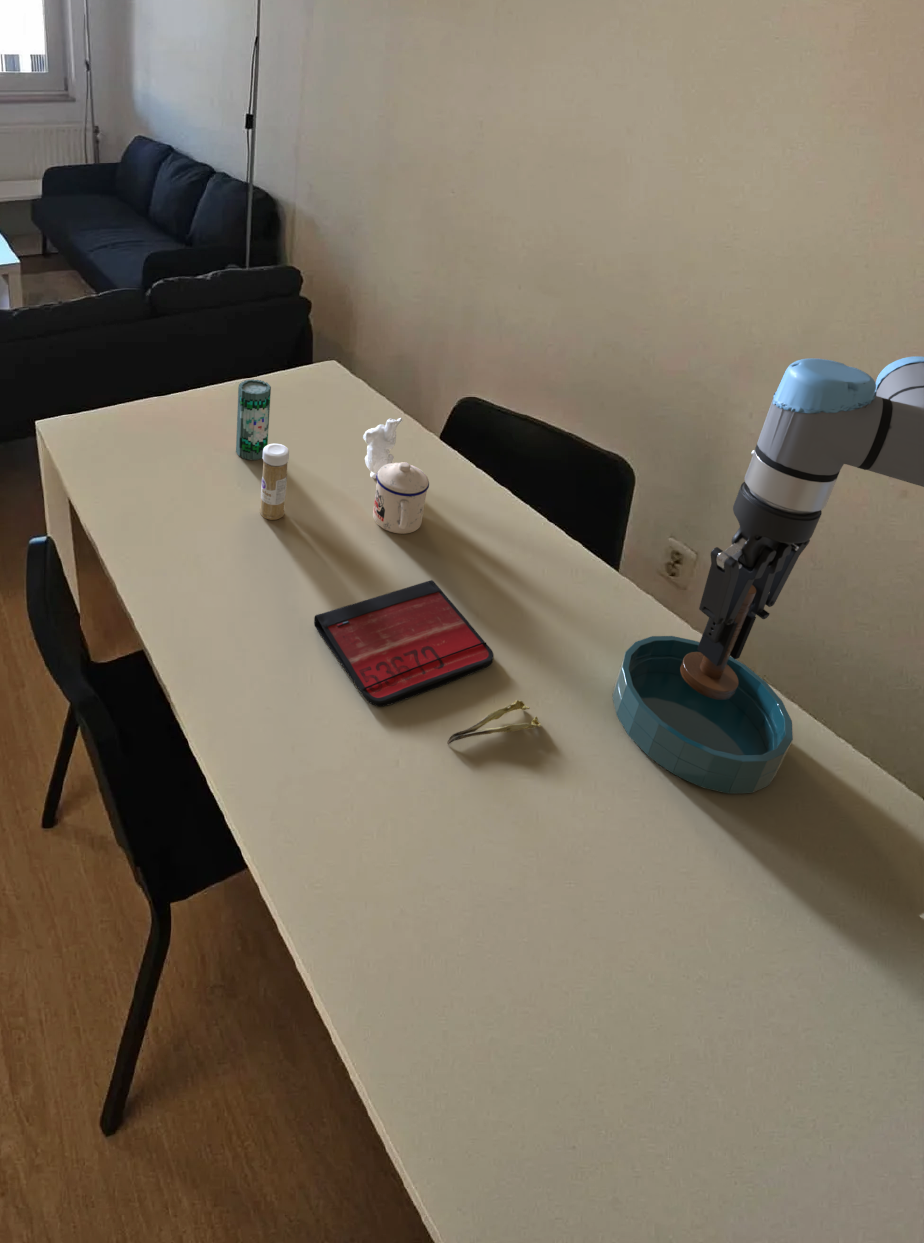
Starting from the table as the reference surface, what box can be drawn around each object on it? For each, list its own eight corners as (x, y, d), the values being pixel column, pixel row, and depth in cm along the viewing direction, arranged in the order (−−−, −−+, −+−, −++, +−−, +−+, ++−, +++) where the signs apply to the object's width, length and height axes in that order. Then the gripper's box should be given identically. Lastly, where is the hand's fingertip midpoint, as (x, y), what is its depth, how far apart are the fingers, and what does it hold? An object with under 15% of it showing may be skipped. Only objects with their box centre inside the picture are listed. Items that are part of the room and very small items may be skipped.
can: (243, 462, 148) (246, 395, 142) (232, 446, 153) (234, 382, 147) (271, 457, 150) (275, 391, 144) (259, 441, 155) (263, 377, 149)
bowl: (811, 767, 91) (829, 733, 89) (703, 818, 85) (718, 783, 82) (681, 653, 107) (692, 622, 105) (581, 689, 101) (591, 656, 98)
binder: (314, 613, 108) (432, 577, 116) (312, 625, 109) (429, 588, 117) (373, 703, 95) (501, 656, 103) (371, 716, 96) (498, 668, 104)
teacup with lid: (369, 501, 138) (376, 448, 133) (419, 506, 137) (428, 452, 132) (374, 544, 127) (381, 487, 122) (428, 549, 126) (437, 492, 121)
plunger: (746, 692, 91) (787, 598, 85) (711, 706, 89) (750, 610, 83) (703, 655, 96) (738, 564, 90) (669, 667, 94) (703, 575, 88)
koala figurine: (388, 460, 151) (395, 409, 146) (406, 479, 145) (414, 426, 140) (351, 468, 148) (357, 415, 143) (368, 487, 142) (374, 432, 137)
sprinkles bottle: (254, 511, 134) (257, 447, 128) (273, 502, 136) (277, 439, 131) (270, 524, 131) (274, 459, 125) (290, 515, 133) (294, 451, 128)
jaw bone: (441, 736, 93) (444, 725, 92) (519, 706, 98) (523, 695, 98) (463, 765, 90) (466, 753, 89) (543, 732, 95) (546, 721, 94)
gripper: (795, 464, 87) (734, 616, 97) (701, 488, 82) (645, 646, 91) (863, 501, 81) (790, 660, 90) (766, 529, 76) (699, 695, 85)
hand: (718, 653), depth 91 cm, fingers closed on plunger, 2 cm apart
